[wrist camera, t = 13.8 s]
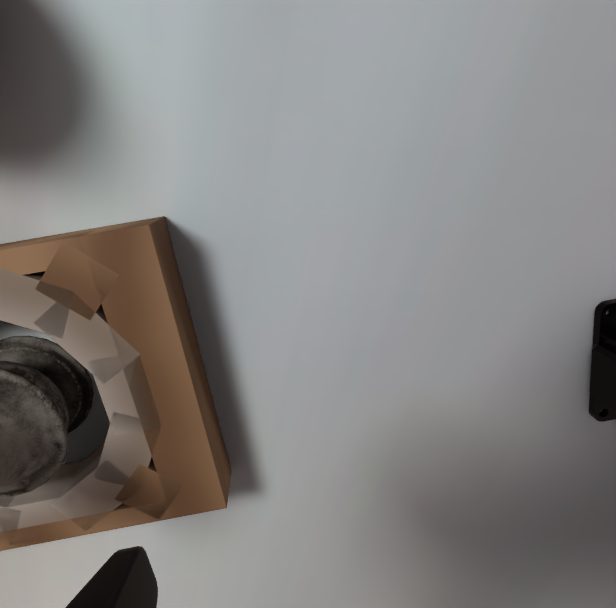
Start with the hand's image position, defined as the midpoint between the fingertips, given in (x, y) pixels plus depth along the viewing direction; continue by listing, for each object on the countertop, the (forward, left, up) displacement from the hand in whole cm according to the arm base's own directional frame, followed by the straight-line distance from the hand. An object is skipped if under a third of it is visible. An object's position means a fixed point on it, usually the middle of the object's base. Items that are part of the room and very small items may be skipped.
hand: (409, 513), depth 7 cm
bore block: (+14, +2, -13) cm, 19 cm away
